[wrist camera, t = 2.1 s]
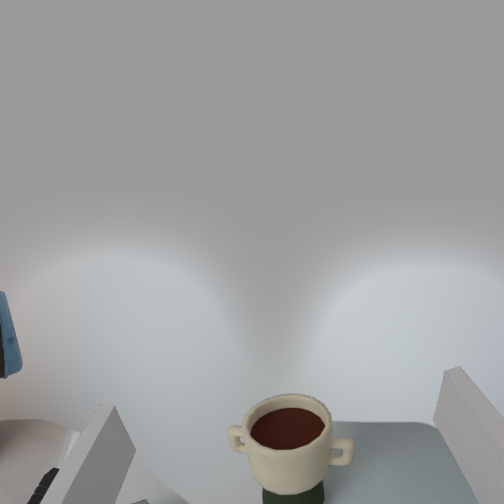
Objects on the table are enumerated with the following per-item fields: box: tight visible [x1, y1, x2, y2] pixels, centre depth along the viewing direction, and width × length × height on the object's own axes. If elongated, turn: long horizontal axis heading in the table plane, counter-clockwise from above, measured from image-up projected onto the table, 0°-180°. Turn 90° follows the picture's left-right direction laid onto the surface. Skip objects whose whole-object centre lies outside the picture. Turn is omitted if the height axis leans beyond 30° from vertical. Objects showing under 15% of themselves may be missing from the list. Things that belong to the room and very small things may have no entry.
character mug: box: [227, 394, 355, 504], centre depth 24 cm, size 11×7×13 cm, turn 70°
